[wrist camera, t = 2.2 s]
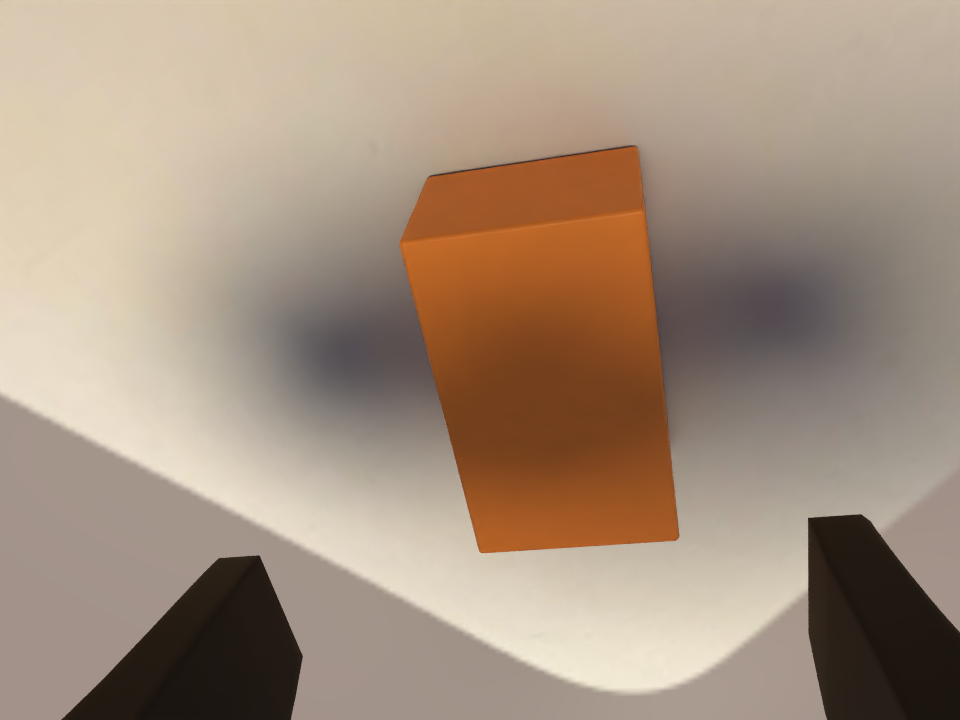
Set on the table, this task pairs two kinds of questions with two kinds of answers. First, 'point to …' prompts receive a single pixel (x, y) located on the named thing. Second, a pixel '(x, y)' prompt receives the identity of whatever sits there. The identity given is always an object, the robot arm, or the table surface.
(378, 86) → the table surface
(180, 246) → the table surface
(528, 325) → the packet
